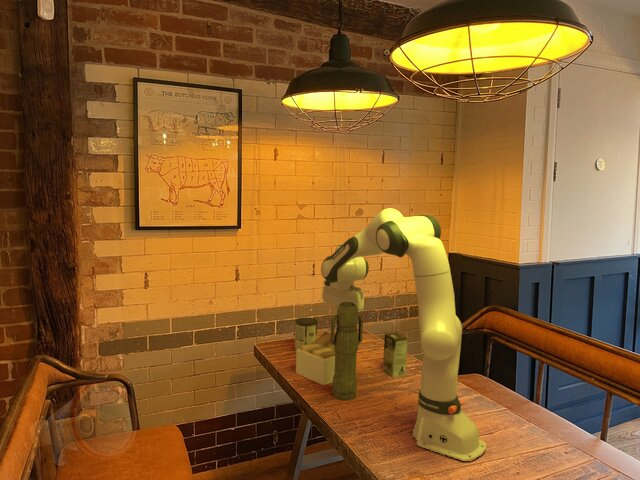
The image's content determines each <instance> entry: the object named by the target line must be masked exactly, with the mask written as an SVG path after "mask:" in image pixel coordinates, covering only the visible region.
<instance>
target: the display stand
mask: <svg viewBox="0 0 640 480" xmlns="http://www.w3.org/2000/svg"><path fill="white" fill-rule="evenodd" d="M295 352H296V355H295V374H297V375H300V376H302V377H305V378H306V379H309V380H310V381H313V382H315V383H318V384H319V385H322V386H326V385H328V384H331V383H333V376H334V373H335V356H333V357H330V358H327V359H323V358H320V357H318V356H315V355H313V354H310V353H308V352H305V351H302V350H300V349H297V350H296V351H295Z"/></svg>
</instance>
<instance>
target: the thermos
mask: <svg viewBox="0 0 640 480" xmlns="http://www.w3.org/2000/svg"><path fill="white" fill-rule="evenodd" d="M335 322H336V324H335ZM335 325H336V329H335ZM363 325H364V319H363V318H362V317H361V316H360V314H359V311H358V310H357V307H356V305H355V304H354V303H351V302H343V303H341V304H340V305H339V307H338V310H337V309H336V315H334V316H333V317H332V318H331V320H330V333H331V344H332V345H334V350H335V373H334V376H333V382H332V396H334V397H335V398H334V397H333V398H334V399H336V398H337V399H336V400H339V399H340V400H339V401H352V400H354V399H355V398H357V397H356V396H357V390H358V389H357V387H358V386H357V385H358V379H357V375H356V374H357V353H358V350H359V345H360V344H361V343H362V341H363V327H364V326H363ZM334 335H335V337H334ZM351 399H352V400H351Z"/></svg>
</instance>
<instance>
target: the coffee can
mask: <svg viewBox="0 0 640 480" xmlns="http://www.w3.org/2000/svg"><path fill="white" fill-rule="evenodd" d="M294 323H295V330H294V331H295V333H294V335H295V336H294V338H295V339H294V345H295V347H294V351H295V352H296V350H297V349H300V346H303V345H306V344H310V343H313V342H315V341H316V340H317V339H318V319H316V318H313V317H300V318H297V319H295V321H294Z"/></svg>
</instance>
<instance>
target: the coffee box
mask: <svg viewBox="0 0 640 480" xmlns="http://www.w3.org/2000/svg"><path fill="white" fill-rule="evenodd" d="M383 342H384V343H383V362H382V370H383V371H384V372H385V373H387V374H388V376H391V377H392V378H394V379H395V378H399V377H406V374H407V361H408V360H407V358H408V344H409V343H408V342H409V339H408V338H407V337H405V336H404V335H402V334H401V333H400V332H398V331H396V332H388V333H387V332H385V333H384V341H383Z"/></svg>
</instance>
